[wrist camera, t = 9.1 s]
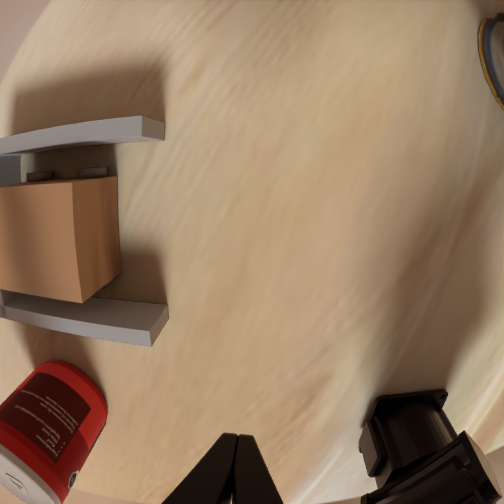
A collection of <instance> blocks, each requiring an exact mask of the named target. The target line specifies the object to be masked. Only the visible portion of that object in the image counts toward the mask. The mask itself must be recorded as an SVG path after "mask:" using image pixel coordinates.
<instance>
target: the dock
mask: <svg viewBox="0 0 504 504" xmlns="http://www.w3.org/2000/svg"><path fill="white" fill-rule="evenodd" d="M164 139H165V123H162V122H160V121H157V120H154V119H151V118H148V117H145V116H131V117H121V118H112V119H103V120H95V121H88V122H81V123H74V124H68V125H62V126H56V127H51V128H45V129H40V130H35V131H30V132H26V133H21V134H17V135H12V136H8V137H4V138H0V186H5V185H11V184H17V183H20V155H23V154H29V153H36V152H42V151H49V150H57V149H64V148H73V147H81V146H91V145H101V144H113V143H126V142H142V141H163V140H164ZM0 317H1V318H5V319H9V320H13V321H17V322H21V323H25V324H29V325H33V326H38V327H42V328H46V329H51V330H56V331H60V332H65V333H70V334H75V335H80V336H86V337H91V338H97V339H103V340H108V341H115V342H121V343H127V344H134V345H141V346H148V347H152V345H153V343H154V342H155V340H156V339H157V337H158V335H159V334H160V332H161V330H162V329H163V327H164V326H165V324H166V322H167V321H168V319H169V317H168V305H164V304H153V303H143V302H133V301H124V300H115V299H106V298H98V297H90V298H88V299H87V300H86V301H85V302H84V303H77V302H71V301H65V300H58V299H52V298H46V297H40V296H35V295H29V294H24V293H18V292H13V291H8V290H3V289H0Z"/></svg>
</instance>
